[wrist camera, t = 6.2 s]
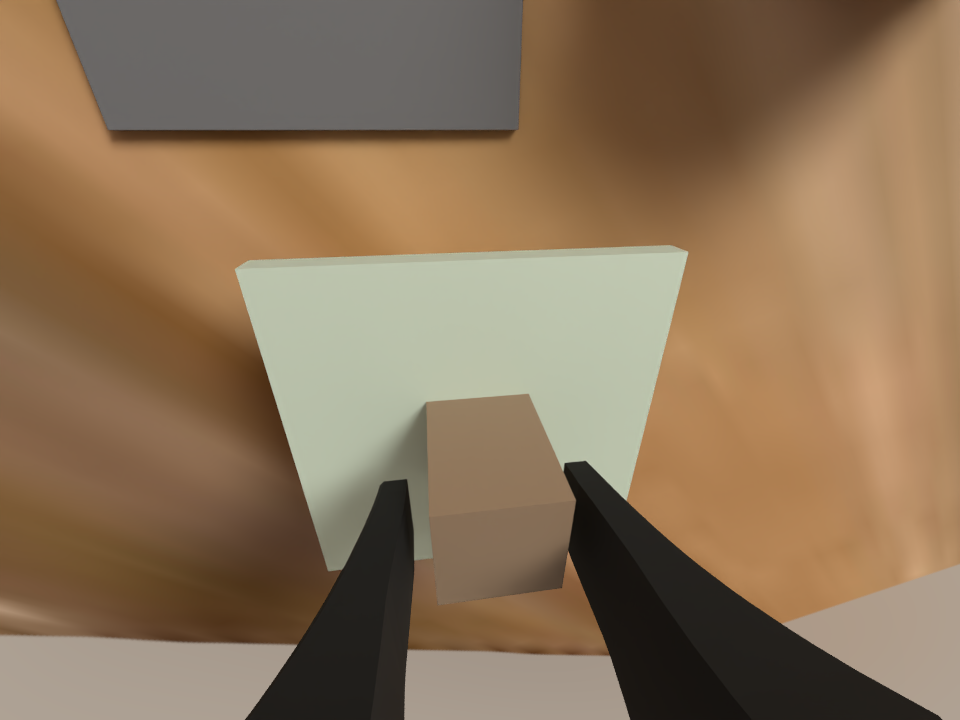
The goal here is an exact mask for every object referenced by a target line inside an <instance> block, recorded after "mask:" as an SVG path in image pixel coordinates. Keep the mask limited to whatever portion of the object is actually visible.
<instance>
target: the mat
mask: <svg viewBox="0 0 960 720" xmlns="http://www.w3.org/2000/svg"><path fill="white" fill-rule="evenodd" d="M56 1H57V3H58V6H59V8H60V11H61V13H62V16H63V18H64V21H65V23H66V26H67V28H68V31H69V33H70V36H71V38H72V41H73V43H74V46H75V48H76V51H77V53H78V56H79V58H80V61H81V63H82V66H83V68H84V71H85V73H86V76H87V78H88V81H89V83H90V86H91V88H92V91H93V93H94V96H95V98H96V101H97V103H98V106H99V108H100V111H101V113H102V116H103V118H104V121H105V123H106V126H107V128H108V130H118V131H122V130H518V125H519V97H520V69H521V41H522V13H523V0H56Z"/></svg>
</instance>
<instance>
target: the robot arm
mask: <svg viewBox="0 0 960 720" xmlns="http://www.w3.org/2000/svg"><path fill="white" fill-rule="evenodd" d="M563 472H564V475H565V477H566V479H567V481H568V484H569V486H570V488H571V490H572V493H573V495H574V497H575V499H576V504H575V510H574V516H573V522H572V529H571V535H570V541H569V547H568V551H569V554H570V556H571V559H572V562H573V564H574V566H575V569H576V571H577V574H578V576H579V579H580V581H581V584H582V586H583V589H584V591H585V594H586V596H587V598H588V601H589V603H590V606H591V608H592V611H593V613H594V615H595V618H596V620H597V623H598V625H599V628H600V630H601V632H602V635H603V637H604V640H605V643H606V646H607V648H608V651H609V654H610V656H611V659H612V663H613V666H614V669H615V672H616V675H617V678H618V681H619V684H620V688H621V691H622V694H623V697H624V700H625V703H626V707H627V710H628V714H629V717H630V720H942V719H941V718H940V717H939V716H938V715H936V714H934V713H933V712H931V711H929V710H927V709H925V708H924V707H922V706H920V705H918V704H916V703H914V702H913V701H911V700H909V699H907V698H905V697H903V696H902V695H900V694H898V693H896V692H894V691H893V690H891V689H889V688H887V687H886V686H883V685H882V684H880V683H878V682H876V681H875V680H873V679H871V678H869V677H867V676H866V675H864V674H862V673H860V672H858V671H857V670H855V669H853V668H852V667H850V666H848V665H846V664H845V663H843V662H842V661H840V660H838V659H837V658H835V657H833V656H832V655H830V654H828V653H827V652H825V651H823V650H822V649H820V648H818V647H817V646H815V645H814V644H812V643H810V642H809V641H807V640H806V639H804V638H802V637H801V636H799V635H798V634H796V633H795V632H793V631H791V630H790V629H788V628H787V627H785V626H784V625H782V624H781V623H779V622H778V621H776V620H775V619H773V618H772V617H770V616H769V615H767V614H766V613H764V612H763V611H761V610H760V609H758V608H757V607H755V606H754V605H752V604H751V603H749V602H748V601H747V600H745V599H744V598H742V597H741V596H740V595H738V594H737V593H735V592H734V591H733V590H731V589H730V588H728V587H727V586H726V585H724V584H723V583H722V582H720V581H719V580H718V579H717V578H715V577H714V576H713V575H711V574H710V573H709V572H707V571H706V570H705V569H703V568H702V567H701V566H699V565H698V564H697V563H696V562H694V561H693V560H692V559H691V558H690V557H688V556H687V555H686V554H685V553H683V552H682V551H681V550H680V549H679V548H678V547H676V546H675V545H674V544H673V543H672V542H671V541H669V540H668V539H667V538H666V537H665V536H664V535H663V534H661V533H660V532H659V531H658V530H657V529H656V528H655V527H654V526H652V525H651V524H650V523H649V522H648V521H647V520H646V519H645V518H644V517H643V516H642V515H641V514H640V513H638V512H637V511H636V510H635V509H634V508H633V507H632V506H631V505H630V504H629V503H628V502H627V501H626V500H625V499H624V498H623V497H622V496H621V495H620V494H619V493H618V492H617V491H616V490H615V489H614V488H613V487H612V486H611V485H610V484H609V483H608V482H607V481H606V480H605V479H604V478H603V477H602V476H601V475H600V474H599V473H598V472H597V471H596V470H595V469H594V468H593V467H592V466H591V465H590V464H589V463H588V462H587V461H578V462H568V463H564V471H563ZM413 580H414V528H413V520H412V512H411V505H410V497H409V489H408V481H407V479H402V480H392V481H384V482H383V483H382V484H381V485H380V486H379V490H378V493H377V496H376V498H375V501H374V504H373V506H372V509H371V511H370V513H369V516H368V518H367V520H366V523H365V525H364V527H363V529H362V531H361V533H360V536H359V538H358V540H357V542H356V544H355V546H354V548H353V550H352V552H351V554H350V556H349V558H348V560H347V562H346V564H345V566H344V568H343V569H342V571H341V573H340V575H339V577H338V578H337V580H336V582H335V584H334V586H333V588H332V589H331V591H330V593H329V595H328V597H327V598H326V600H325V602H324V603H323V605H322V607H321V608H320V610H319V612H318V614H317V615H316V617H315V618H314V620H313V622H312V623H311V625H310V626H309V628H308V630H307V631H306V633H305V634H304V636H303V637H302V639H301V641H300V642H299V644H298V645H297V647H296V648H295V650H294V651H293V653H292V654H291V656H290V657H289V659H288V660H287V662H286V663H285V664H284V666H283V667H282V669H281V670H280V672H279V673H278V675H277V676H276V678H275V679H274V681H273V682H272V684H271V685H270V686H269V688H268V689H267V691H266V692H265V693H264V695H263V696H262V698H261V699H260V701H259V702H258V703H257V704H256V706H255V707H254V709H253V710H252V711H251V713H250V714H249V715H248V717H247V718H246V719H245V720H404V699H405V696H404V695H405V673H406V660H407V649H408V637H409V626H410V615H411V603H412V591H413Z"/></svg>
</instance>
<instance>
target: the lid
mask: <svg viewBox="0 0 960 720" xmlns="http://www.w3.org/2000/svg"><path fill="white" fill-rule="evenodd" d="M687 256H688V251H685V250H682V249H680V248H677V247H674V246H672V245H665V246H636V247H608V248H580V249H552V250H524V251H496V252H468V253H440V254H412V255H384V256H356V257H328V258H300V259H272V260H248V261H247V262H245V263H244V264H242V265H241V266H239V267H237V268H236V269H235V271H236V274H237V277H238V281H239V284H240V287H241V290H242V294H243V297H244V300H245V303H246V307H247V310H248V313H249V316H250V320H251V323H252V326H253V329H254V332H255V336H256V339H257V342H258V345H259V349H260V352H261V355H262V358H263V362H264V365H265V368H266V371H267V374H268V378H269V381H270V384H271V387H272V391H273V394H274V397H275V400H276V404H277V407H278V410H279V413H280V417H281V420H282V423H283V426H284V429H285V433H286V436H287V439H288V442H289V446H290V449H291V452H292V455H293V459H294V462H295V465H296V468H297V471H298V475H299V478H300V481H301V484H302V488H303V491H304V494H305V497H306V501H307V504H308V507H309V510H310V514H311V517H312V520H313V523H314V526H315V530H316V533H317V536H318V539H319V543H320V546H321V549H322V552H323V556H324V559H325V562H326V565H327V568H328V571H335V570H342V569H343V568H344V566H345V564H346V562H347V560H348V558H349V556H350V554H351V552H352V550H353V548H354V546H355V544H356V542H357V540H358V538H359V536H360V533H361V531H362V529H363V527H364V525H365V523H366V520H367V518H368V516H369V513H370V511H371V509H372V506H373V504H374V501H375V498H376V496H377V493H378V490H379V486H380V485H381V484H382V483H383V482H384V481H392V480H402V479H407V481H408V489H409V497H410V505H411V512H412V520H413V528H414V560H422V559H429V558H433V563H434V573H435V584H436V594H437V604H438V605H444V604H451V603H458V602H465V601H472V600H479V599H486V598H493V597H501V596H508V595H515V594H522V593H529V592H536V591H543V590H550V589H557V588H562V584H563V578H564V572H565V566H566V559H567V553H568V547H569V541H570V535H571V529H572V522H573V516H574V510H575V504H576V499H575V497H574V495H573V493H572V490H571V488H570V486H569V484H568V481H567V479H566V477H565V475H564V472H563V471H564V463H568V462H578V461H587V462H588V463H589V464H590V465H591V466H592V467H593V468H594V469H595V470H596V471H597V472H598V473H599V474H600V475H601V476H602V477H603V478H604V479H605V480H606V481H607V482H608V483H609V484H610V485H611V486H612V487H613V488H614V489H615V490H616V491H617V492H618V493H619V494H620V495H621V496H622V497H623V498H624V499H625V500H627V496H628V492H629V488H630V484H631V480H632V476H633V472H634V468H635V464H636V460H637V456H638V452H639V448H640V444H641V440H642V436H643V432H644V428H645V424H646V420H647V416H648V412H649V408H650V404H651V400H652V396H653V392H654V388H655V384H656V380H657V376H658V372H659V368H660V364H661V360H662V356H663V352H664V348H665V344H666V340H667V336H668V332H669V328H670V324H671V320H672V316H673V312H674V308H675V304H676V300H677V296H678V292H679V288H680V284H681V280H682V276H683V272H684V268H685V264H686V260H687Z"/></svg>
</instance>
